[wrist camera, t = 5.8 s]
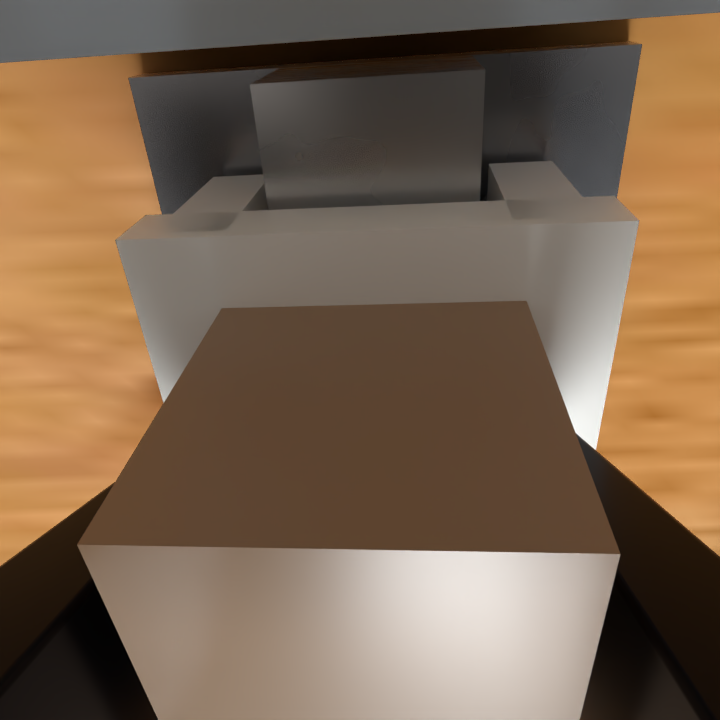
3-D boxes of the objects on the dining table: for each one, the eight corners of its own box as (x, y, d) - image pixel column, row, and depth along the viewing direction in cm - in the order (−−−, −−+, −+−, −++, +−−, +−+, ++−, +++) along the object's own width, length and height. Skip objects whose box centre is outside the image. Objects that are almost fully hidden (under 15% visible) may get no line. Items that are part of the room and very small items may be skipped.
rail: (536, 645, 18) (553, 738, 15) (274, 637, 18) (256, 723, 16) (629, 41, 9) (696, 55, 7) (142, 73, 10) (66, 95, 8)
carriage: (541, 448, 12) (657, 857, 7) (248, 448, 13) (114, 821, 7) (577, 159, 9) (860, 443, 3) (190, 177, 10) (-133, 443, 4)
